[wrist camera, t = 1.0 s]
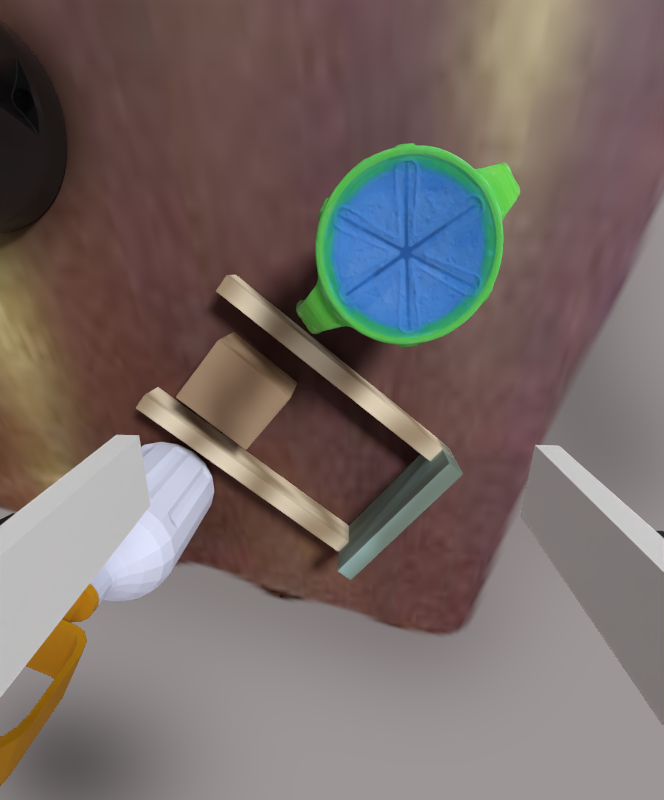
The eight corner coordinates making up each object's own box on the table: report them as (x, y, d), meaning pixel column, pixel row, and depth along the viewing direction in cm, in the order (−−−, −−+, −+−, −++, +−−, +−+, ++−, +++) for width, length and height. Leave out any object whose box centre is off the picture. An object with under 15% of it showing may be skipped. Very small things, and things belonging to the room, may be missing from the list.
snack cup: (458, 135, 29) (510, 69, 19) (509, 270, 32) (578, 271, 22) (274, 244, 32) (240, 233, 22) (335, 359, 35) (328, 393, 25)
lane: (149, 398, 37) (119, 418, 32) (235, 274, 33) (216, 275, 28) (350, 543, 40) (350, 580, 36) (448, 447, 37) (463, 473, 32)
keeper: (196, 381, 36) (175, 397, 32) (234, 331, 34) (218, 340, 30) (258, 429, 37) (245, 450, 33) (297, 382, 36) (290, 397, 31)
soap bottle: (142, 424, 37) (-204, 680, 14) (230, 467, 38) (42, 772, 15) (112, 496, 40) (-219, 812, 17) (195, 535, 41) (-9, 884, 18)
